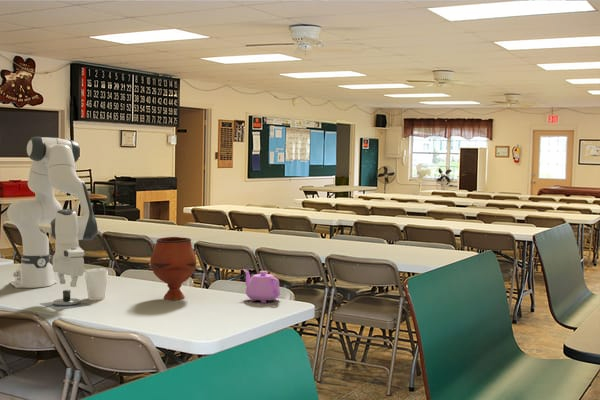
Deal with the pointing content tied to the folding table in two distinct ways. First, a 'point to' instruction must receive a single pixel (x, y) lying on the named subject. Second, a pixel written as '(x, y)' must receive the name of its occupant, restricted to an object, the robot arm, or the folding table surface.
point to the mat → (50, 304)
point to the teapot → (262, 287)
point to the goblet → (173, 263)
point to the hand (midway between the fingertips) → (67, 285)
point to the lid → (66, 300)
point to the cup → (96, 283)
